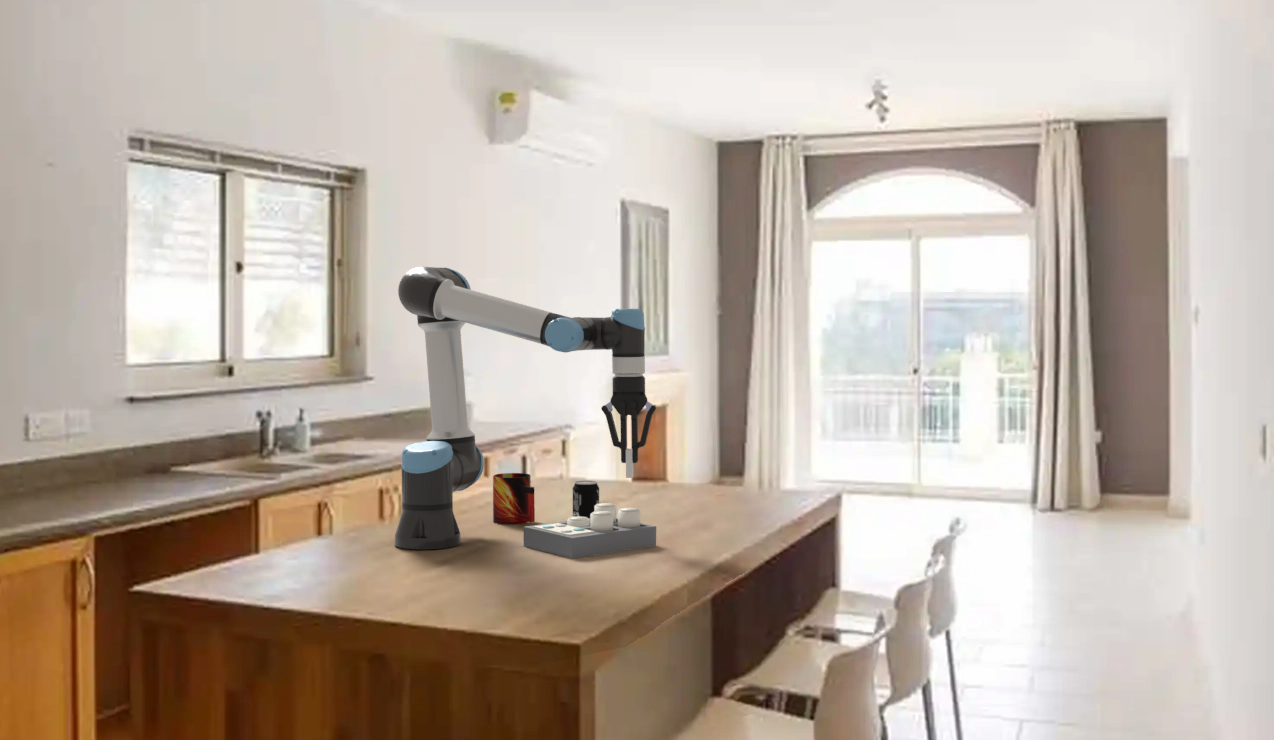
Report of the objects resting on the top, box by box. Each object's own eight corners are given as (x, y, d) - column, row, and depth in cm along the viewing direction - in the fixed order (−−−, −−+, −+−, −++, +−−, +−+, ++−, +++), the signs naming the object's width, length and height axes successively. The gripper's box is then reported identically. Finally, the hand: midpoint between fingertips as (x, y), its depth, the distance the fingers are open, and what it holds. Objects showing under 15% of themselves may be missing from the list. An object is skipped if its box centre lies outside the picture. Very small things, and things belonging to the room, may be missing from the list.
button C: (599, 538, 287) (599, 515, 286) (585, 535, 291) (585, 512, 291) (617, 535, 290) (617, 512, 290) (603, 532, 294) (603, 510, 294)
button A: (575, 543, 294) (575, 520, 294) (562, 540, 298) (562, 517, 298) (593, 540, 297) (593, 518, 297) (580, 537, 301) (580, 515, 301)
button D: (627, 534, 292) (627, 511, 292) (613, 531, 296) (613, 508, 296) (644, 532, 295) (644, 509, 295) (630, 529, 299) (630, 506, 299)
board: (572, 558, 279) (572, 535, 279) (523, 546, 294) (523, 524, 294) (656, 545, 294) (656, 524, 294) (605, 534, 309) (605, 514, 309)
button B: (603, 529, 299) (603, 506, 299) (590, 526, 303) (589, 504, 303) (620, 526, 302) (620, 504, 302) (607, 524, 306) (607, 502, 306)
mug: (533, 527, 320) (532, 479, 319) (486, 523, 326) (485, 476, 325) (551, 521, 329) (551, 475, 328) (505, 517, 335) (505, 472, 334)
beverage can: (595, 532, 311) (595, 484, 311) (569, 532, 313) (569, 483, 312) (601, 528, 318) (601, 480, 317) (576, 527, 319) (576, 479, 318)
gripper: (658, 374, 297) (659, 475, 298) (602, 374, 298) (603, 474, 299) (655, 376, 289) (656, 479, 290) (598, 376, 291) (599, 479, 292)
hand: (629, 476), depth 295 cm, fingers closed
